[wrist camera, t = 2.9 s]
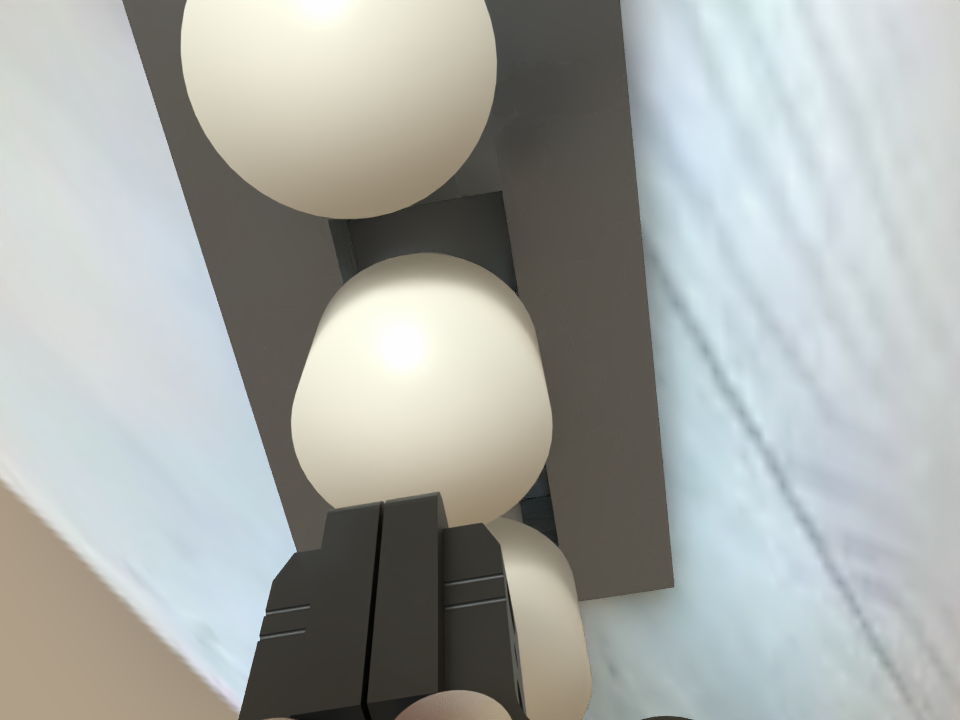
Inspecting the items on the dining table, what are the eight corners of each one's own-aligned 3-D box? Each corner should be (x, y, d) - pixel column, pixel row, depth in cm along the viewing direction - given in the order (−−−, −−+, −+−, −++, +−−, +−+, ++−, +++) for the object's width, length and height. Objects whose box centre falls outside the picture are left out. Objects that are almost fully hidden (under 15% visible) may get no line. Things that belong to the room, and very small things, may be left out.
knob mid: (511, 191, 20) (532, 290, 14) (539, 371, 21) (567, 517, 16) (311, 225, 20) (260, 336, 15) (356, 401, 22) (326, 554, 16)
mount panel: (579, -237, 19) (595, -256, 17) (657, 534, 28) (674, 587, 26) (115, -146, 20) (73, -155, 17) (334, 583, 28) (324, 638, 26)
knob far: (548, 430, 22) (578, 587, 17) (571, 572, 24) (603, 753, 19) (371, 458, 22) (346, 622, 17) (407, 596, 24) (394, 782, 19)
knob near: (463, -121, 17) (467, -138, 12) (500, 116, 19) (518, 192, 14) (233, -77, 17) (137, -76, 12) (292, 152, 19) (232, 241, 14)
